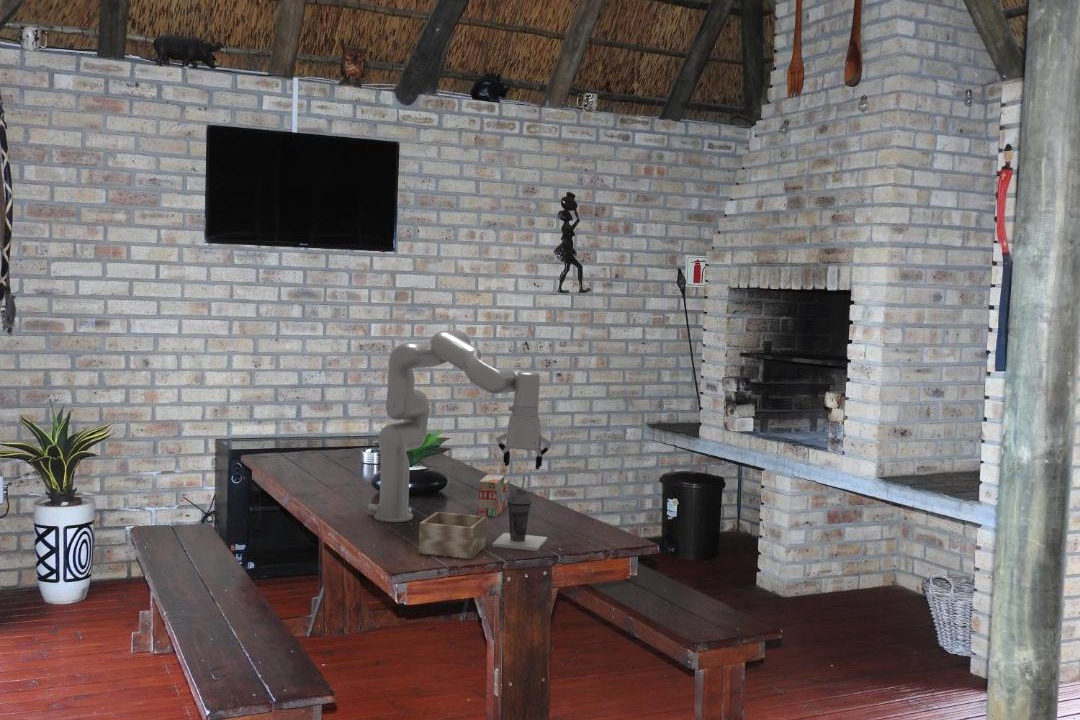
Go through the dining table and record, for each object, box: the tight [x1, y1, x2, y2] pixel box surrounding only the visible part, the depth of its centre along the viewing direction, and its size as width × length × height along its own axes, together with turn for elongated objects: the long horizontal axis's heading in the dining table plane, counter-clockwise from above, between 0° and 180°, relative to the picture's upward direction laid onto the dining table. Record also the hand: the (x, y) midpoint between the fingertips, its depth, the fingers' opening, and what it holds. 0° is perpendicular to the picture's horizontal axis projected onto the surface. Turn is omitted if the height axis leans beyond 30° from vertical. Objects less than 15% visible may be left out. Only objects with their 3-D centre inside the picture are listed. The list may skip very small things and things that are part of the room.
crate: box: [418, 511, 488, 560], centre depth 321 cm, size 16×16×9 cm
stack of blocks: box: [477, 474, 510, 518], centre depth 377 cm, size 21×6×12 cm, turn 170°
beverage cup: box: [507, 475, 532, 542], centre depth 332 cm, size 7×7×20 cm
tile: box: [492, 532, 548, 552], centre depth 333 cm, size 14×14×1 cm
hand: (522, 467), depth 331 cm, fingers open, 9 cm apart
